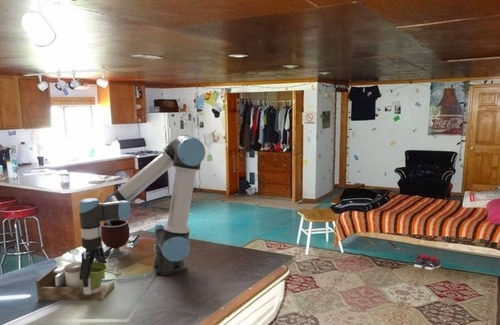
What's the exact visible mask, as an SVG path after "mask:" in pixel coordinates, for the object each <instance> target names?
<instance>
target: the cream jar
mask: <svg viewBox="0 0 500 325" xmlns="http://www.w3.org/2000/svg"><path fill="white" fill-rule="evenodd" d="M81 262H82V261H75V262H71V263H68V264H66V265H64V266H63V267H64V271H65V282H66V287H80V295H81V294H83V293H84V290H83V280H80V279H79V277H80V269H81Z"/></svg>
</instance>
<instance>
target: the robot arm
mask: <svg viewBox="0 0 500 325" xmlns="http://www.w3.org/2000/svg"><path fill="white" fill-rule="evenodd" d="M205 147H206V146H205V145H204V144H203V142H202V141H201V140H200V139H198V138H197V137H194V136H190V135H188V134H187V135H186V134H184V135H183V134H182V135H179V136H177V137H175V138H174V139H173V140H172V141H171V142H169V144H167V145H166V146H165V147H163V149H161V153H160V154H159V155H158V156H156V157H155V158H154V159H152V161H150V162H149V163H148V164H147V165H146V166H144V167H143V168H142V169H140V170H139V171H138V172H137V173H136V174H135V175H134V176H132V177H131V178H130V179H128V180H127V181H126V182H124V184H122V185H121V186H120V187H118V189H116V190H115V191H114V192H112V193H109V194H108V195H106V197H105V198H104V202H100V200H99V198H96V197H90V198H89V197H88V198H84V199H81V200H80V201H79V203H78V204H79V205H78V207H79V209H78V210H79V211H78V212H79V214H78V215H79V224H80V229H79V231H80V236H81V247H82V248H83V249H85V253H81V261H80V262H81V269H80V277H79V279H80V280H83V290H84V294H91V282H90V278H89V275H90V271H91V267H92V263H93V262H101V263H104V264H107V258H106V256H105V253H106V252H105V250H104V248H103V241H102V237H101V227H102V224H101V222H104V221H110V220H120V219H121V220H127V219H130V218H131V204H130V202H131V201H132V200H134V199H135V197H137V196H138V195H140V194H141V193H142V192H143V191H144V190H145V189H147V188H148V187H149V186H150V185H151V184H153V183H154V182H155V181H157V179H158V178H160V177H161V176H162V175H163V174H165V173H166V172H167V171H168V170H170V169H171V168H172V167H173V169H175V174H174V180H173V186H172V192H171V199H170V206H169V212H168V218H167V220H165V221H160V222H157V223H156V224H155V225H154V232H155V233H154V235H155V258H154V262H153V265H152V272H153V273H155V274H156V275H158V276H173V275H178V274H180V273H183V272H184V271H185V270H186V262H185V258H187V256H188V255H189V253H190V251H191V245H190V244H191V243H190V241H189V238H190V231H191V229H190V228H189V227H188V223H189V216H190V211H191V202H192V198H193V197H192V196H193V192H194V187H195V186H194V184H195V179H196V178H195V177H196V174H197V172H199V171H200V170H201V164H202V162H203V160H204V159H205V156H206V148H205ZM95 260H96V261H95ZM105 272H106V271H105ZM105 272H104V275H103V278H102V280H105V279H106V273H105Z"/></svg>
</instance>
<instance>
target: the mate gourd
mask: <svg viewBox="0 0 500 325" xmlns="http://www.w3.org/2000/svg"><path fill="white" fill-rule="evenodd" d="M100 236H101V240H102V244H103V245H105V246H106V248H110V249H112V251H111V250H110V251H111V252H110V254H109V257H108V258H118V259H123V258H125V257H127V256H128V255H129V254H130V251H129V250H128V249H124V248H122V247H124V246H125V245H127V243H128V242H129V238H130V228H129V222H128V220H127V219H122V220H121V219H120V220H110V221H102V223H101V235H100ZM108 258H107V259H108Z"/></svg>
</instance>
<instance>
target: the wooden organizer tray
mask: <svg viewBox="0 0 500 325" xmlns="http://www.w3.org/2000/svg"><path fill="white" fill-rule="evenodd" d="M57 268H58V266H54V267H52V268H51V269H50V270H48V271H47V272H45V273H44V274H43V275H41V276H40V277H39V278H38V279H37V280H36V281H35V283H36V293H37V294H36V296H37V302H39V301H91V302H92V301H94V302H95V301H97V302H101V301H103V300H104V299H105V298H106V296H107V295H108V294H109V293H110V291H111V290H113V288H114V287H115V285H116V284H115V281H112V280H111V281H110V282H109V284H102V283H101V285H100V287H99V288H97V289H91V294H84V293H83V294H81V295H80V287H56V283H55V276H56V275H57V274H59V273H54V270H55V269H57Z"/></svg>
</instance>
